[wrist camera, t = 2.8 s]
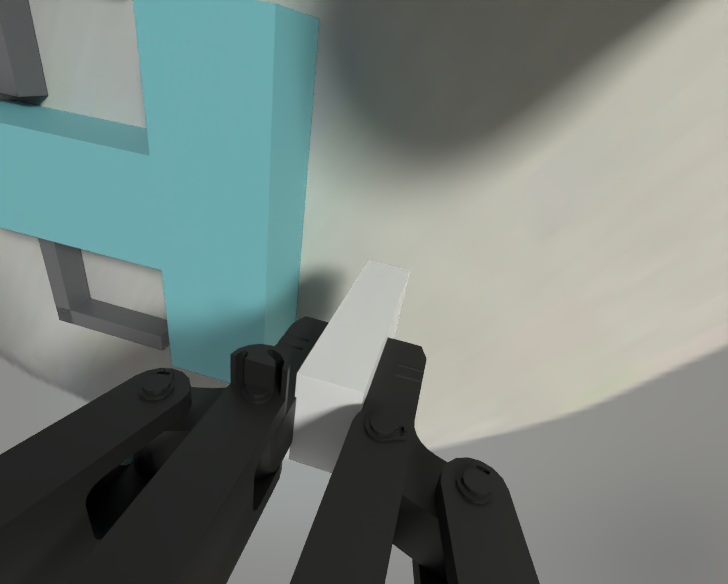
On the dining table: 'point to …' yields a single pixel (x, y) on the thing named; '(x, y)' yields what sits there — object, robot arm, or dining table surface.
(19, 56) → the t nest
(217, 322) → the t block
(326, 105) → the dining table surface
